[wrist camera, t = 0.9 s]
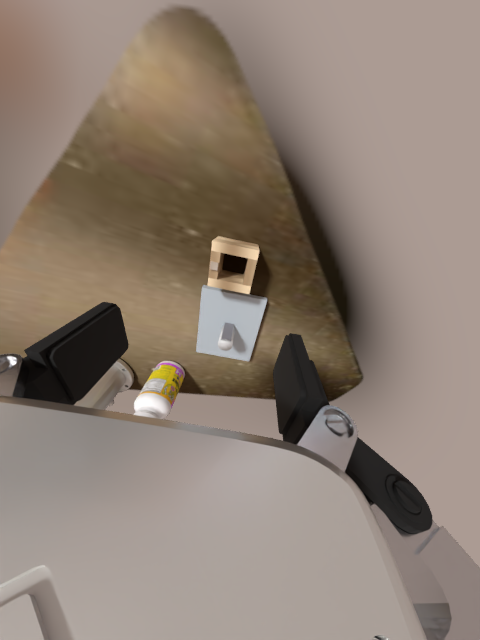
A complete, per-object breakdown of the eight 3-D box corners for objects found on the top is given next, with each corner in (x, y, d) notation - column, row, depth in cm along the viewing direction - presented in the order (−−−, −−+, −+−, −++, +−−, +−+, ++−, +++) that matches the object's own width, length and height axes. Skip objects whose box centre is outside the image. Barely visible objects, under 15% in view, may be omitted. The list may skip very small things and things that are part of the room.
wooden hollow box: (258, 244, 27) (259, 251, 22) (249, 282, 30) (249, 295, 26) (218, 236, 27) (211, 240, 22) (213, 275, 30) (207, 286, 25)
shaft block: (249, 357, 38) (248, 379, 33) (197, 347, 38) (189, 369, 33) (266, 297, 31) (269, 314, 26) (203, 285, 31) (194, 299, 26)
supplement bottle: (186, 381, 43) (164, 439, 32) (158, 378, 43) (126, 435, 32) (185, 361, 40) (159, 417, 29) (155, 357, 40) (118, 412, 29)
